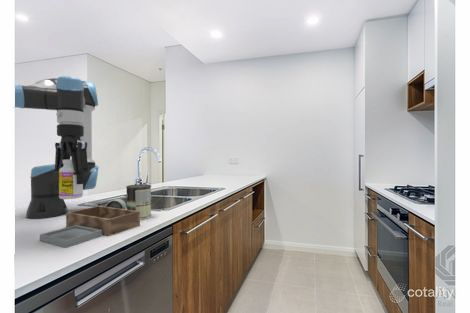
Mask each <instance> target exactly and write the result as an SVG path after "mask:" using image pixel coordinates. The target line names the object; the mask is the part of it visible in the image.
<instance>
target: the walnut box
mask: <svg viewBox="0 0 470 313" xmlns="http://www.w3.org/2000/svg"><path fill="white" fill-rule="evenodd" d="M65 224H66V225H65V228H67V227H71V226H75V225H79V226H84V227H89V228H94V229H99V230H102V236H108V237H109V236H112V235H116V234H118V233H121V232H124V231H126V230H130V229H133V228H136V227H139V226H141V220H140V211H133V210H127V208H126V209H119V208H111V207H105V206H103V205H97V206H92V207H88V208H87V207H86V208H82V209H77V210H74V211H67V213H65Z"/></svg>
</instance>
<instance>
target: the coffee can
mask: <svg viewBox="0 0 470 313" xmlns="http://www.w3.org/2000/svg"><path fill="white" fill-rule="evenodd" d="M125 187H126V210H133V211H140V221H142V220H146V219H147V220H148V219H149V218H151V217H152V212H151V211H152V194H151V191H152V185H151V184H147V183H146V184H145V183H144V184H143V183H140V184H129V185H126V186H125Z"/></svg>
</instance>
